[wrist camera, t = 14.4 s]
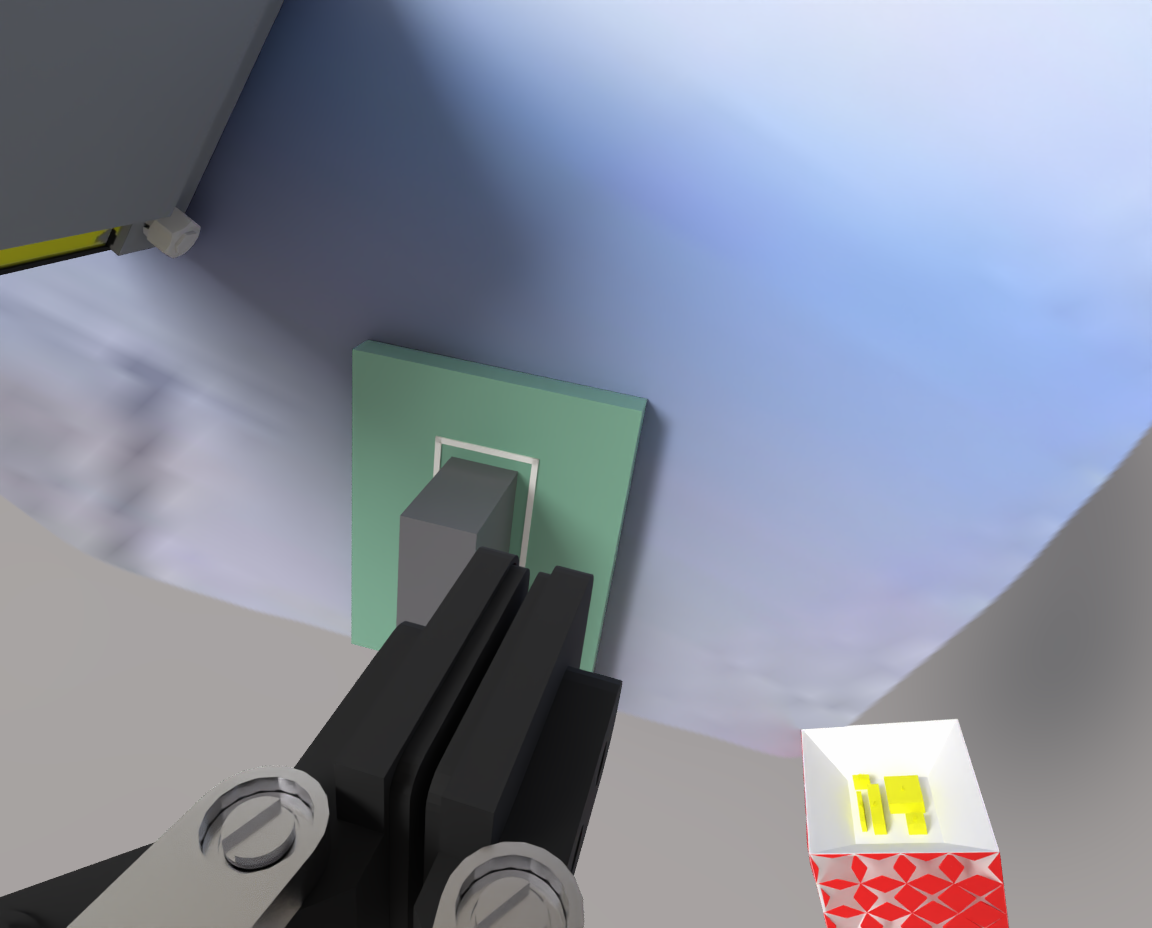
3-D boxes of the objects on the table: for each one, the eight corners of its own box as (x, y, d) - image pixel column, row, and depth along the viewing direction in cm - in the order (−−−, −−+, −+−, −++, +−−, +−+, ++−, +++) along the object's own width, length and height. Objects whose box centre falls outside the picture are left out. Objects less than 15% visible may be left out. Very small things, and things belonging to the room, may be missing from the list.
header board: (647, 399, 35) (631, 439, 31) (590, 686, 44) (572, 749, 39) (367, 339, 37) (317, 370, 33) (364, 626, 45) (323, 680, 41)
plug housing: (518, 471, 37) (476, 534, 31) (500, 621, 41) (462, 698, 36) (451, 456, 37) (399, 515, 32) (441, 605, 41) (394, 679, 36)
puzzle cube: (957, 718, 39) (1000, 852, 32) (972, 828, 42) (1014, 972, 35) (799, 728, 42) (806, 854, 35) (823, 831, 45) (834, 966, 38)
